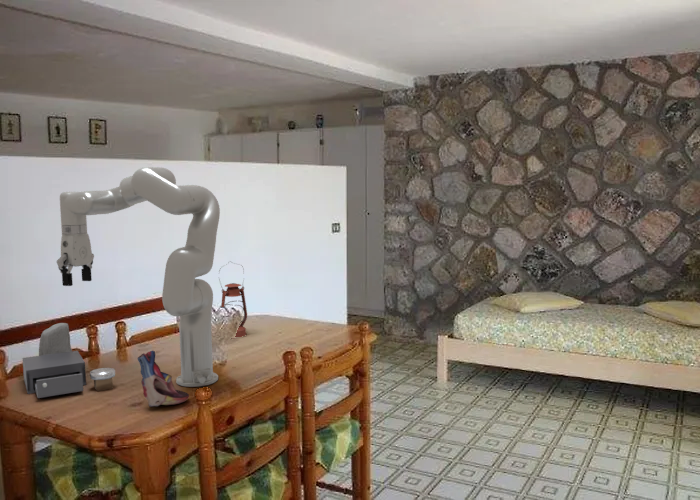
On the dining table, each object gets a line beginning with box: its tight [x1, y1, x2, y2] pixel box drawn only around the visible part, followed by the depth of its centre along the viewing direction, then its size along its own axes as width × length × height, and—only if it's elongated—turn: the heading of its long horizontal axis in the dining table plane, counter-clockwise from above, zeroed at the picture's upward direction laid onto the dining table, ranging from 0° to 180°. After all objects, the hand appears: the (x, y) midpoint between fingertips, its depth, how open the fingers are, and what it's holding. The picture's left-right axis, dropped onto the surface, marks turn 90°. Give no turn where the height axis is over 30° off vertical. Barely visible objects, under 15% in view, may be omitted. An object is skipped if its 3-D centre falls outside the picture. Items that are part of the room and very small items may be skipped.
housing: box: [22, 350, 87, 395], centre depth 198 cm, size 16×16×7 cm
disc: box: [89, 367, 116, 381], centre depth 192 cm, size 7×7×2 cm
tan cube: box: [93, 377, 114, 392], centre depth 192 cm, size 4×4×4 cm
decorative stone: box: [38, 322, 73, 356], centre depth 213 cm, size 11×6×15 cm, turn 148°
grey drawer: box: [33, 372, 84, 399], centre depth 190 cm, size 16×12×5 cm
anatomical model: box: [137, 350, 190, 407], centre depth 176 cm, size 9×13×15 cm
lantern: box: [218, 260, 248, 338], centre depth 254 cm, size 10×10×30 cm
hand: (77, 283), depth 207 cm, fingers open, 9 cm apart
